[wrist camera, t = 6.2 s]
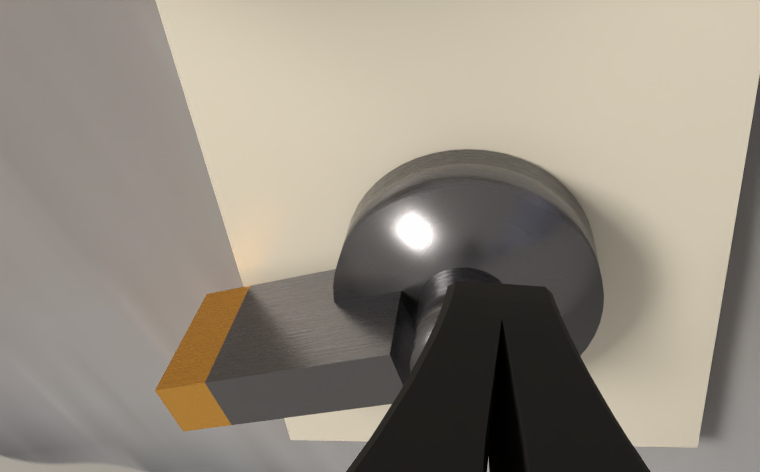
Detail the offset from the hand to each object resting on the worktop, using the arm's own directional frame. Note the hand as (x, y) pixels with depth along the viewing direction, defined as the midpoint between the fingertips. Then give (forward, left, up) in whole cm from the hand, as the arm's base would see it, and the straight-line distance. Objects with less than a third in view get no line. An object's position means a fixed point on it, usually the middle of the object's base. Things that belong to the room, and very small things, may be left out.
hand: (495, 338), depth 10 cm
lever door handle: (+3, +5, -9) cm, 11 cm away
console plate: (+1, +5, -10) cm, 11 cm away
